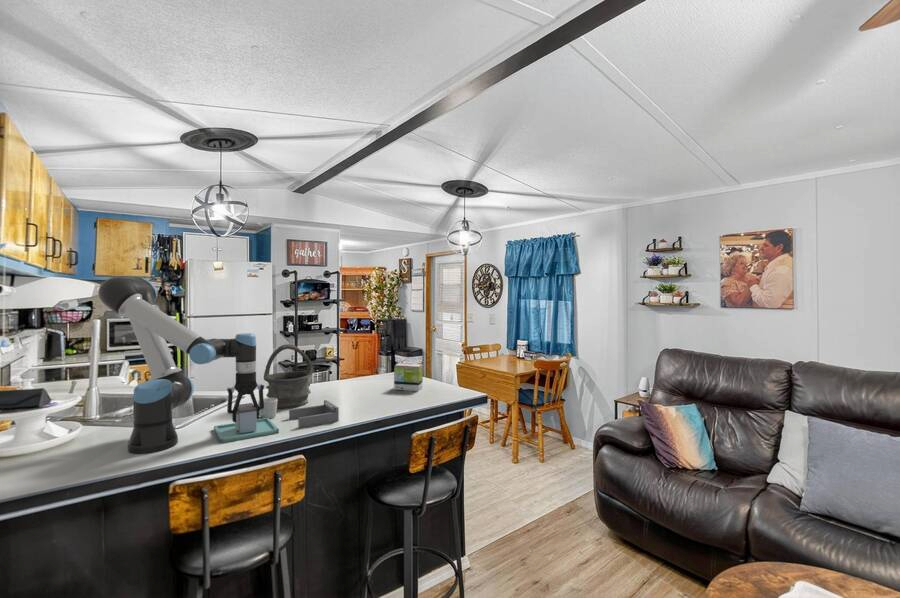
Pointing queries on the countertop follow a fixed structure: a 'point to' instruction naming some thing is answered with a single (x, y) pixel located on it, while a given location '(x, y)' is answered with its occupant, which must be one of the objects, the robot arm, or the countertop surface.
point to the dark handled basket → (288, 382)
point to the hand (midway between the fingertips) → (245, 428)
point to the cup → (268, 408)
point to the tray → (230, 434)
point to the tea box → (408, 376)
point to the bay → (315, 414)
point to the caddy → (246, 418)
